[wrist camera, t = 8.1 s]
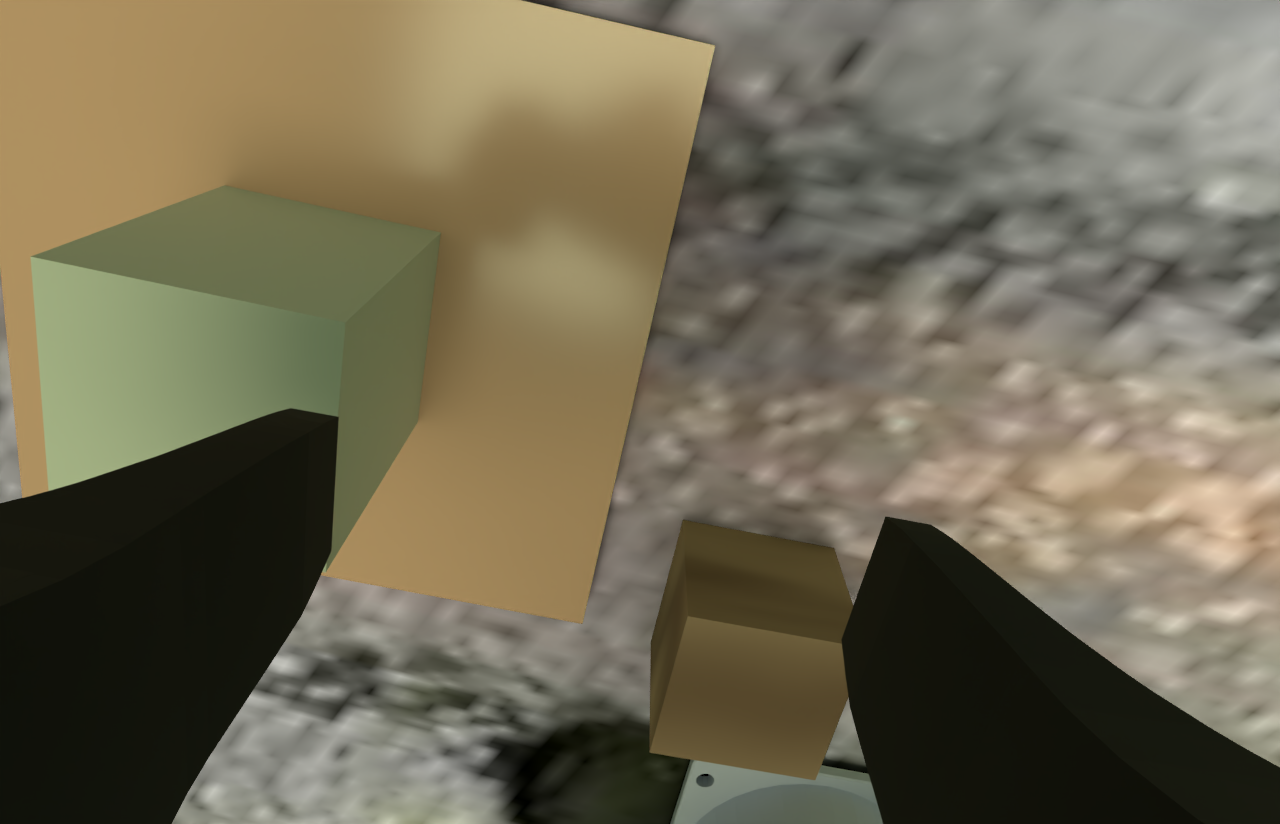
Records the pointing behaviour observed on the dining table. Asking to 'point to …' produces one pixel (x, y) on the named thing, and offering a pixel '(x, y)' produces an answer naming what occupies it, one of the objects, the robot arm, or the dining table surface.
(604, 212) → the tan flat square slab
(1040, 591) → the dining table surface
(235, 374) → the sage block
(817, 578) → the walnut block
